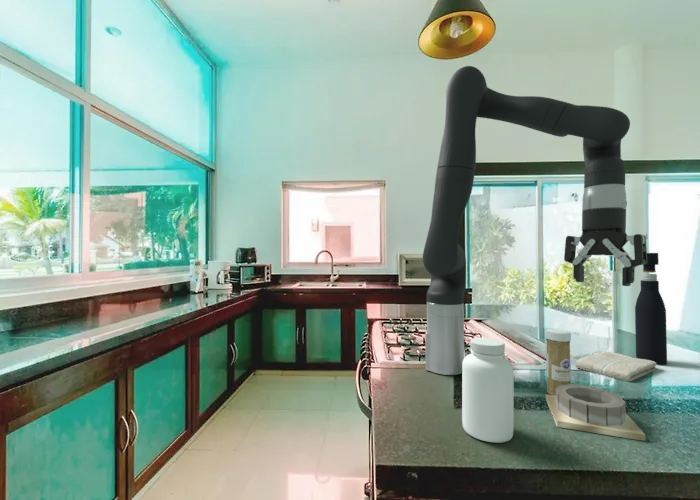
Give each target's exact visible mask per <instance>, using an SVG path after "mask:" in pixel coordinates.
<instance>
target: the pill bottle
mask: <svg viewBox="0 0 700 500" xmlns="http://www.w3.org/2000/svg"><path fill="white" fill-rule="evenodd" d="M469 342H470V353H469V354H466V355H465V356H464V360H463V363H462V373H461V374H462V375H461V377H462V378H461V379H462V382H461V388H462V389H461V391H462V392H461V397H462V399H461V401H462V402H461V403H462V404H461V423H462V424H461V425H462V428H463V430H464V431H465V432H466V434H468V435H469V436H471V437H473V438H475V439H477V440H480V441H484V442H488V443H496V444H497V443H499V444H501V443H507V442H509V441H510V440H511V439H512V438H513V436H514V430H515V429H514V418H515V417H514V415H515V414H514V411H515V410H514V409H515V408H514V405H515V404H514V399H515V398H514V397H515V396H514V391H515V390H514V388H515V387H514V386H515V384H514V381H515V378H514V375H515V373H514V371H515V370H514V367H513V366H514V365H513V364H512V362H511V361H510V360H509V359H507V358H506V357H505V355H506V353H505V352H506V351H505V350H506V349H505V348H506V346H505V345H506V344H505V342H504V341H503V340H500V339H496V338H491V337H474V338H471V339H470V341H469Z"/></svg>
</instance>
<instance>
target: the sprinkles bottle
mask: <svg viewBox="0 0 700 500" xmlns="http://www.w3.org/2000/svg"><path fill="white" fill-rule="evenodd" d="M571 334H572V333H571V332H570V331H569V330H566V329H562V328H547V329H546V330H545V340H546V353H545V355H546V359H545V361H546V363H545V364H546V365H545V366H546V387H547V388H546V392H547V394H548V395H556V388H557V387H559V386H560V385H570V384H572V383H571V382H572V381H571V380H572V365H571V345H570V344H571V341H572V335H571Z"/></svg>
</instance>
